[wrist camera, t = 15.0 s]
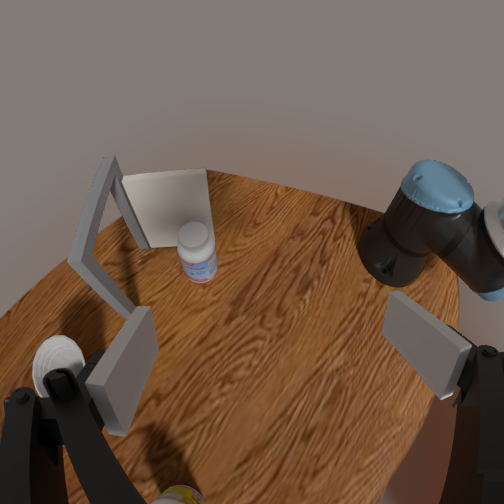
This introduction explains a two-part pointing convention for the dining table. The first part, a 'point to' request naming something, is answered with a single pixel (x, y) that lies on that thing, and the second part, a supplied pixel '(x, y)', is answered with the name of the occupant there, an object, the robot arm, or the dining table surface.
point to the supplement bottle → (179, 496)
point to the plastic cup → (56, 359)
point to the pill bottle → (197, 252)
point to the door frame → (88, 229)
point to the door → (169, 203)
